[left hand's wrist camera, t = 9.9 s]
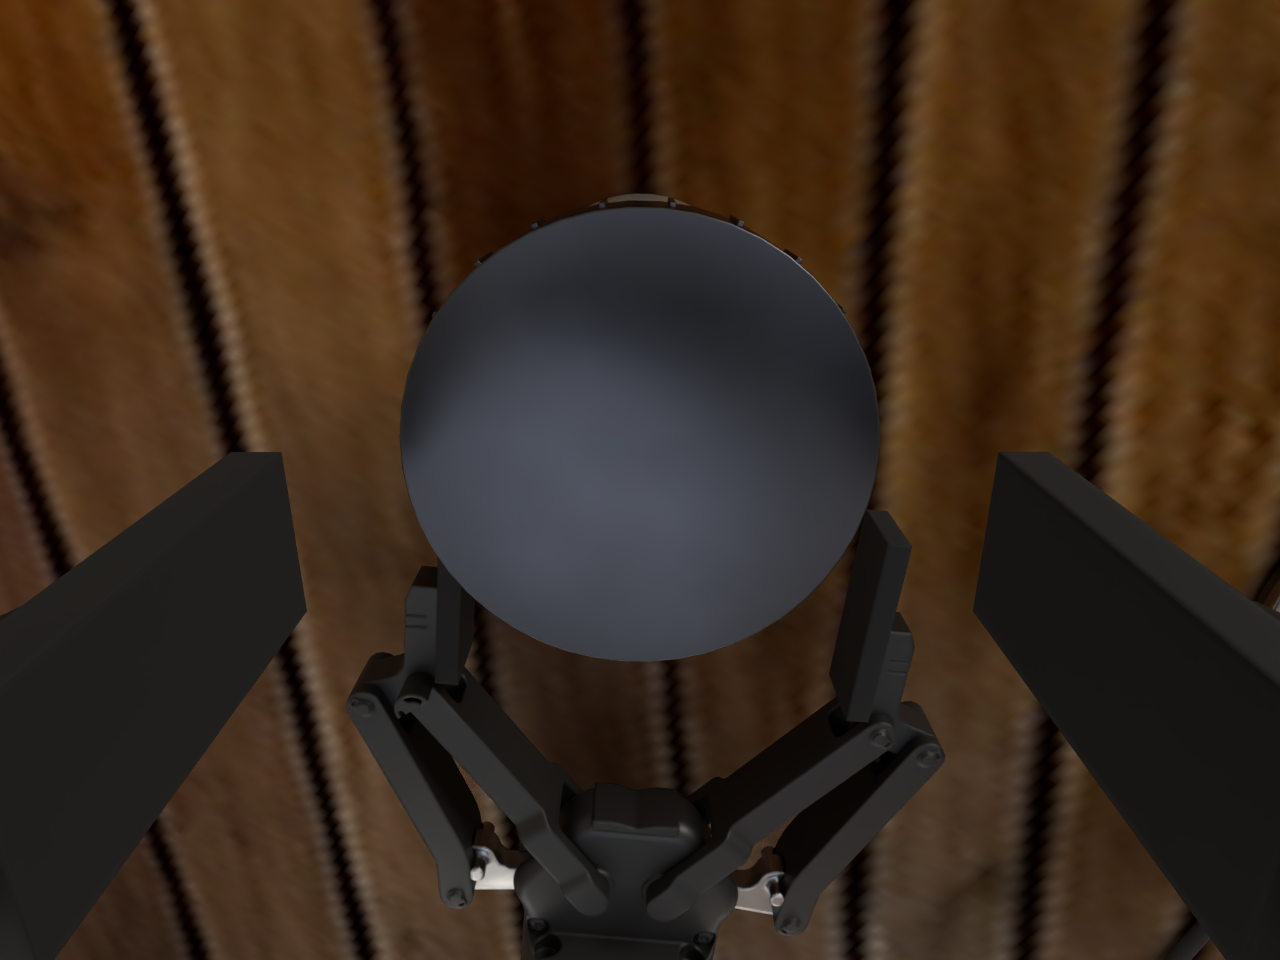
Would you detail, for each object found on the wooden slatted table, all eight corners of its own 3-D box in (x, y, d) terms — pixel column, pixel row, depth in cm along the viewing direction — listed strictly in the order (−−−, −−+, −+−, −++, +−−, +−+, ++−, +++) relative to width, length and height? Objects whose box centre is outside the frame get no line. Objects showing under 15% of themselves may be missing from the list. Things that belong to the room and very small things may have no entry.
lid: (948, 412, 18) (986, 443, 16) (651, 685, 21) (653, 740, 19) (625, 88, 16) (623, 79, 14) (335, 438, 19) (299, 472, 17)
